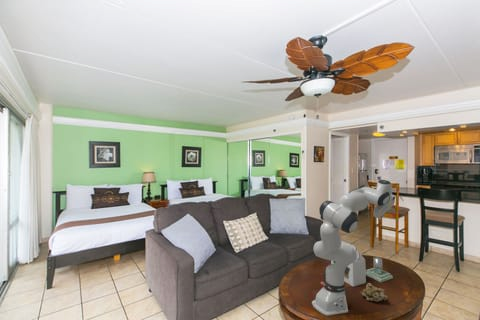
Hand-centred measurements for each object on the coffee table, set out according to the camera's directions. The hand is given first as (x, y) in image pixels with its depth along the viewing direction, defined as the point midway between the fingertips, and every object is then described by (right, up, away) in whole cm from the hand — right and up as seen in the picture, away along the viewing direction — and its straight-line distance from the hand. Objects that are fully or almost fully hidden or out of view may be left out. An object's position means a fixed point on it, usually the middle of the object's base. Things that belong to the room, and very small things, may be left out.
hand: (383, 215), depth 157 cm
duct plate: (+8, -54, +18) cm, 57 cm away
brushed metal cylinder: (+8, -52, +18) cm, 55 cm away
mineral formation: (-13, -54, -11) cm, 56 cm away
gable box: (-18, -54, +17) cm, 59 cm away
